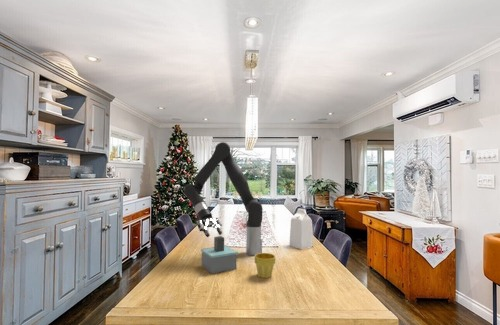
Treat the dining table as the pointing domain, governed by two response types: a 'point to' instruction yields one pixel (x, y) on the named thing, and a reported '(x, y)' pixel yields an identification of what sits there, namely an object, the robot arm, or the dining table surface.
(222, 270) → the tub
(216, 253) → the lid
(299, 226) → the milk
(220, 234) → the robot arm
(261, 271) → the plant pot
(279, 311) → the dining table surface
